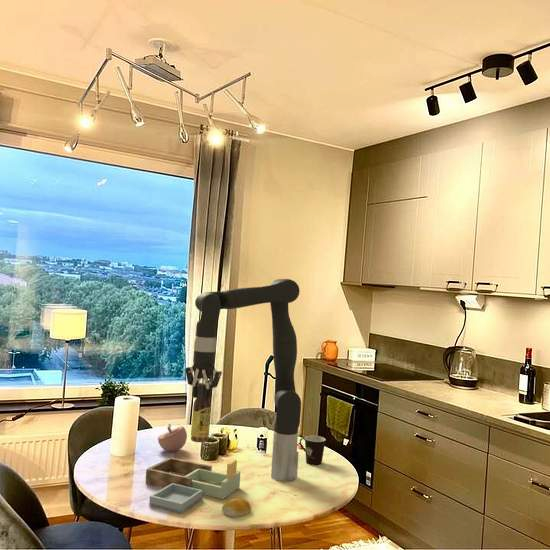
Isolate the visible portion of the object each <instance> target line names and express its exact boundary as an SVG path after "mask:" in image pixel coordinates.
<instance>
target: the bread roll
mask: <svg viewBox="0 0 550 550" xmlns="http://www.w3.org/2000/svg"><path fill="white" fill-rule="evenodd" d="M251 510H252V507H251V503H250V502H249V501H248V500H247V499H245V498H243V497H235V498H232V499H230V500H228V501H226V502H224V504H222V508H221V512H222V513H223V514H224V515H226V516H228V517H231V518H241V517H243V516H245V515H248V514H249V513H251Z"/></svg>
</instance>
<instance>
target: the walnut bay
mask: <svg viewBox="0 0 550 550" xmlns="http://www.w3.org/2000/svg"><path fill="white" fill-rule="evenodd" d="M198 468H200V469H205V470H209V471H213V467H212V465H209V464H205V463H204V464H203V463H198V462H194V461H189V460H185V459H182V458H181V459H180V458H175V457H169V458H166V459H165V460H162V461H160V462H158V463H156V464H154V465H152V466H150V467H148V468H146V469H145V472H146V473H145V484H146V483H147V484H146V485H150V486H156V487H158V486H159V487H160V488H162V489H163V488H165V487H166V486H168V485H170V484H171V483H174V484H178V485H183V486H187V487H192V478H190V477H186V475H188V474H189V473H191V472H193V471H194V470H196V469H198ZM169 472H170V473H169ZM172 472H174V473H172ZM177 473H178V474H177ZM159 487H158V488H159Z"/></svg>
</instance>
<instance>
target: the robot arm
mask: <svg viewBox="0 0 550 550" xmlns="http://www.w3.org/2000/svg"><path fill="white" fill-rule="evenodd" d="M300 290H301V289H300V287H299V284H298V283H297V282H296V281H294V280H292V279H289V278H278V279H275V280H273V281H272V282H271V283H270V285H265V286H256V287H255V286H253V287H239V288H234V289H233V288H232V289H226V290H222V291H207V292H201V293H200V294H198V295H197V297H196V298H195V302H194V303H195V307H196V309H197V310H198V311H199V312H201V313H200V319H199V320H198V321H197V322H196V327H195V338H194V339H195V340H194V344H193V345H194V346H193V359H192V360H193V361H192V363H193V365H192V366H188V367H185V370H184V371H185V377H186V380H187V385H190V386H191V387H192V393H191V395H192V398H195V399H196V398H197V397H198V383H201V380H202V379H203V381H204V382H203V383H206V388H207V389H206V395H205V400H209V401H210V399H212V395H213V394H212V393H213V389H214V388H217V387H218V384H219V382H220V379H221V377H222V374H223V372H222V370H220V371H219V370H217V369H216V368H215V361H216V350H217V349H216V348H217V340H216V339H217V338H216V337H217V324H218V321H219V318H220V313H221V310H234V309H241V308H245V307H250V306H256V305H261V304H270V313H271V323H272V324H271V325H272V326H271V327H272V328H271V329H272V356H273V366H274V373H275V375H274V376H275V381H274V382H275V384H274V396H273V398H274V399H273V400H274V401H273V402H274V405H275V407H276V414H275V415H276V416H275V423H274V424H273V439H272V453H271V455H272V456H271V470H270V471H271V472H270V473H271V474H270V477H271V478H272V480H273V479H274V480H276V481H278V482H293V481H294V480H295V479H296V478H297V477H298V468H299V451H298V439H299V438H298V437H299V427H300V423H301V413H302V412H301V411H302V400H301V397H300V395H299V394H298V393H297V390H296V384H295V369H296V364H297V357H298V340H297V334H296V331H295V329H294V326H293V324H292V321H291V317H290V314H289V313H290V311H289V304H291V303H293V302H295V301H296V300H297V299H298V297H299V295H300ZM193 372H194V373H193ZM212 375H213V376H212Z"/></svg>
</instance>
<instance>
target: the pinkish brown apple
mask: <svg viewBox="0 0 550 550" xmlns="http://www.w3.org/2000/svg"><path fill="white" fill-rule="evenodd" d="M171 426H172V425H171V423H168V426H167V428H166V429H167V431H166V432H164V433H163V434H160V435H158V436H157V442H158V445H159V446H160V448H161V449H162V450H164V451H166V452H168V453H175V452H177V451H180V450H181V449H182V448H184V446H185V444H186V442H187V439H188V435H187V430H186V428H185V427H184V425H181V426H179V427H176V428H173V429H172V428H171Z"/></svg>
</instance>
